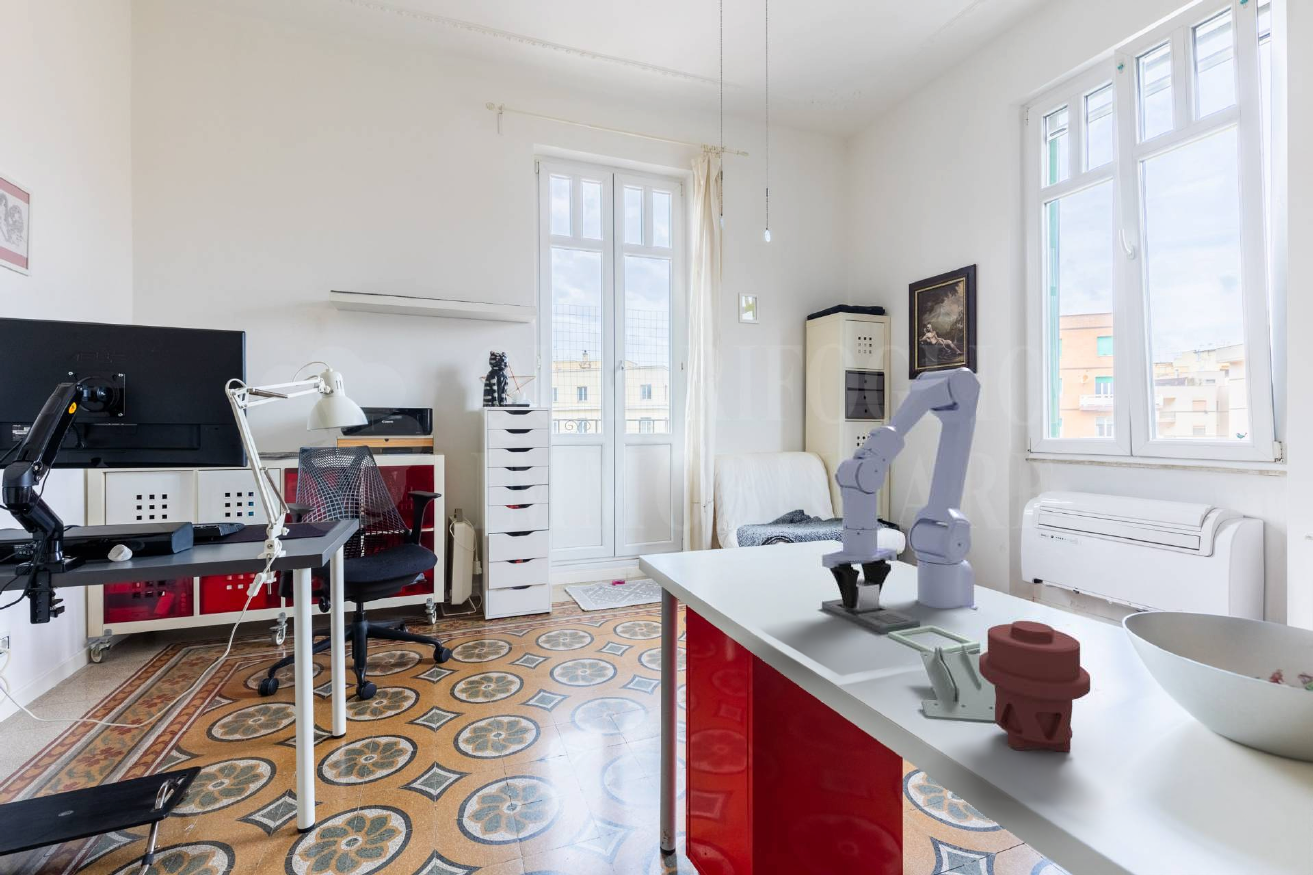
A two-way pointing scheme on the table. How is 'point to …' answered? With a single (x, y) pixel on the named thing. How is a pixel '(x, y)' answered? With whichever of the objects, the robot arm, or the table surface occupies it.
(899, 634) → the tray
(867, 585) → the cube with square inset
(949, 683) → the metal bracket
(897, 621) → the plate with square cutouts
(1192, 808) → the table surface
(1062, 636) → the mechanical component
